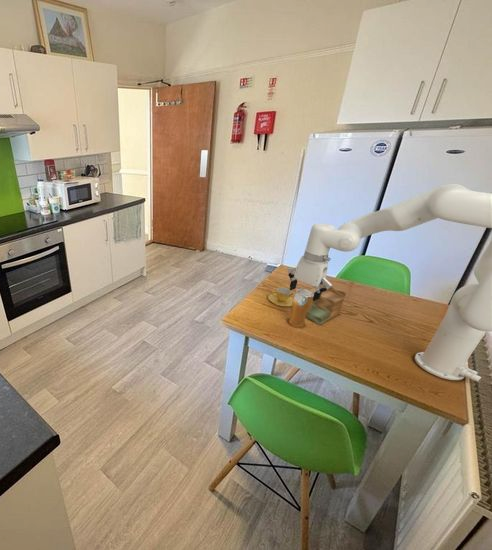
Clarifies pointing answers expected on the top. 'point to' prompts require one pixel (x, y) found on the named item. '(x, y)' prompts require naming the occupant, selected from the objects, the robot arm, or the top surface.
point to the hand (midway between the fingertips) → (303, 294)
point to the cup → (281, 297)
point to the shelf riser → (326, 305)
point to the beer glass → (300, 307)
